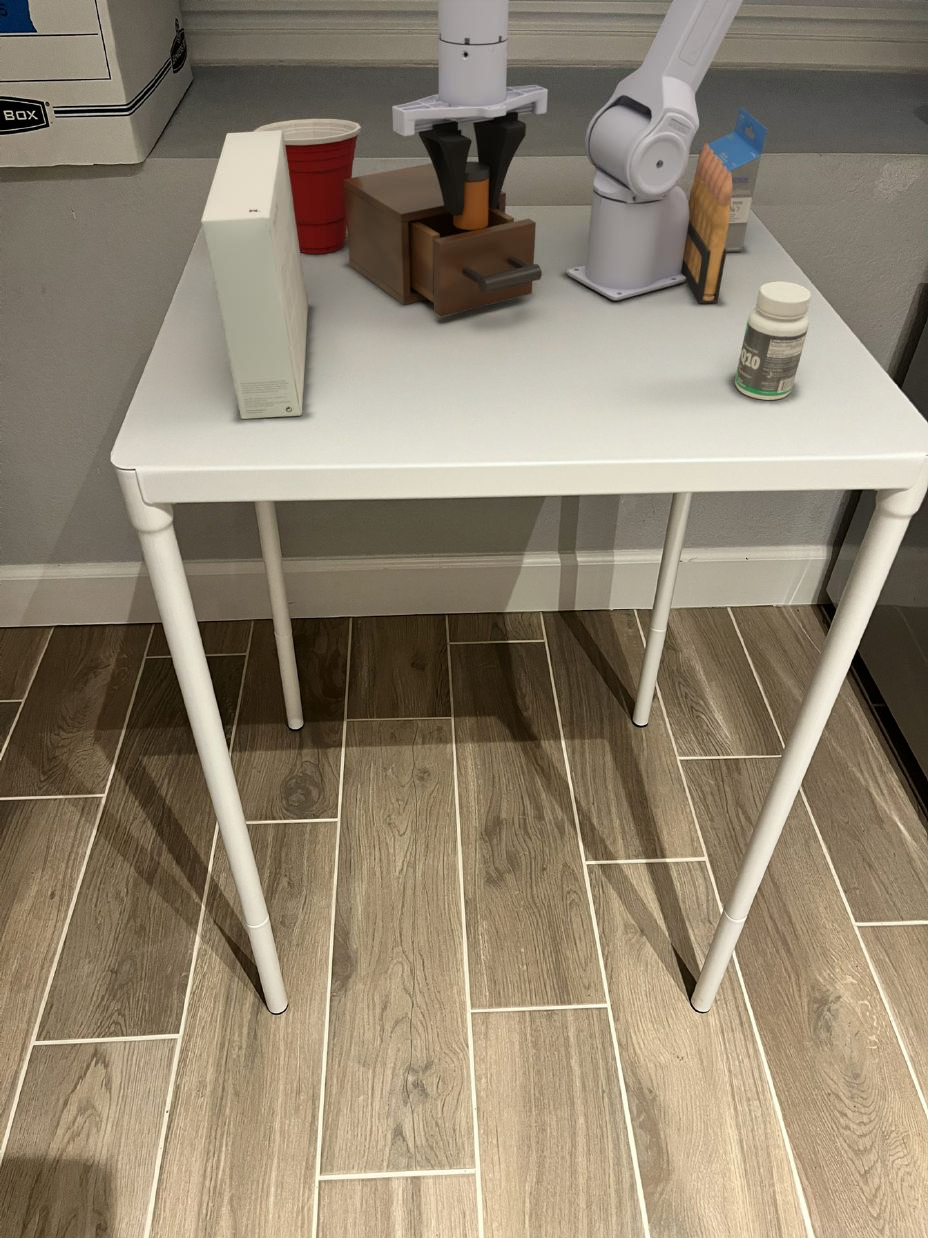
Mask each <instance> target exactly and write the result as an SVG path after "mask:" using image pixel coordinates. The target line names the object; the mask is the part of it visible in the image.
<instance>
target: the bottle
mask: <svg viewBox="0 0 928 1238" xmlns="http://www.w3.org/2000/svg"><path fill="white" fill-rule="evenodd" d="M489 177H490V166H489V165H487V164H485V163H481V162H478V161H473V160H472V161H471V160H470V161H467V164H466V171H465V181H464V209H463V215H460V216H454V215H453V223H454V226H456V227H457V228H460V229H464V230H478V229H482V228H485V227H486V226H487V225H488V206H489Z"/></svg>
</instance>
